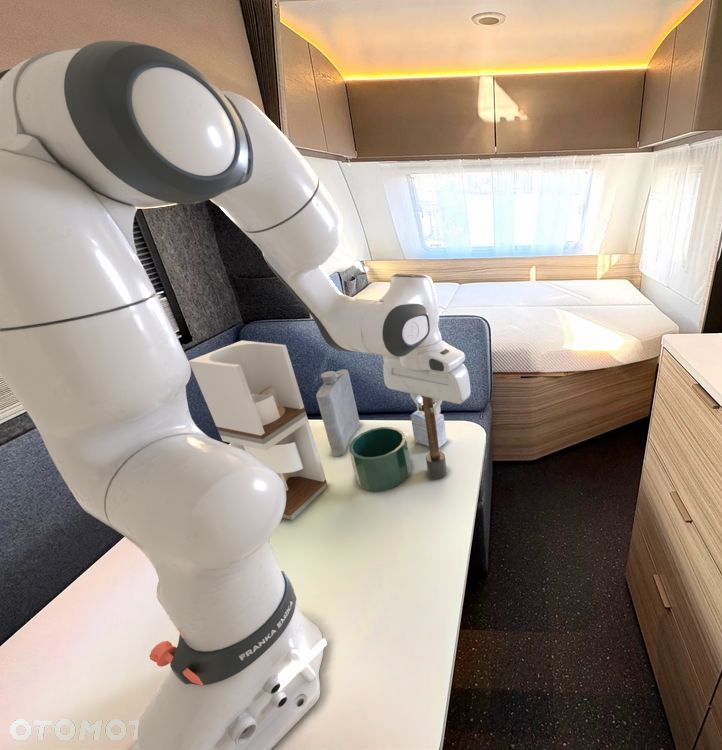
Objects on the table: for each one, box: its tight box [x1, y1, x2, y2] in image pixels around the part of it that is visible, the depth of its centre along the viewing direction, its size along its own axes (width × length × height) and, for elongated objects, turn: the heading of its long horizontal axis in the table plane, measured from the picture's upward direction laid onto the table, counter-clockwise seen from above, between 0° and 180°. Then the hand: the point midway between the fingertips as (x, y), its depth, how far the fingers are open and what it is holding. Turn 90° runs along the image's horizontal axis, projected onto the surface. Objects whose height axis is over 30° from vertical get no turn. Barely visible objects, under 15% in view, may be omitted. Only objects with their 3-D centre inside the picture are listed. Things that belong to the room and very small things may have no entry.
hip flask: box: [315, 369, 361, 457], centre depth 102 cm, size 16×4×20 cm, turn 1°
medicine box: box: [410, 409, 448, 449], centre depth 102 cm, size 8×4×9 cm, turn 58°
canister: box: [348, 426, 412, 492], centre depth 91 cm, size 13×13×9 cm
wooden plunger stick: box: [421, 396, 448, 480], centre depth 87 cm, size 4×4×22 cm
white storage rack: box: [188, 340, 328, 521], centre depth 79 cm, size 11×11×35 cm
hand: (429, 411), depth 84 cm, fingers closed on wooden plunger stick, 2 cm apart
